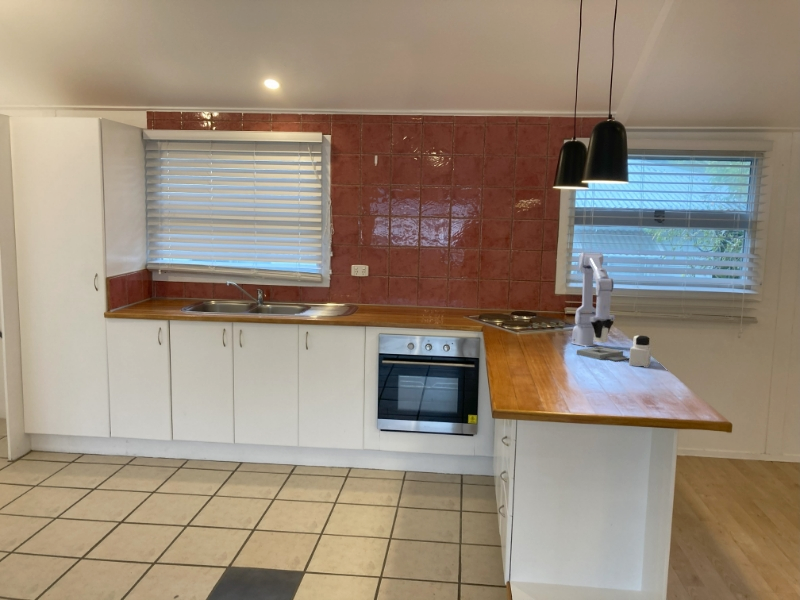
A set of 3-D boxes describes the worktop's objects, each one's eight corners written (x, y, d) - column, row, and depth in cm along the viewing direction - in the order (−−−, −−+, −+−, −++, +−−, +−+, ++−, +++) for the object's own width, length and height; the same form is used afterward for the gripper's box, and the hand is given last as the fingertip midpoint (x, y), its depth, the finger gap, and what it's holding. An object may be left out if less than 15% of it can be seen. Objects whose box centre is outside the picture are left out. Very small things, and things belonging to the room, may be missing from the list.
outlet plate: (576, 354, 265) (576, 349, 265) (599, 350, 274) (600, 346, 274) (599, 359, 255) (599, 354, 255) (622, 355, 264) (623, 351, 264)
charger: (593, 341, 263) (594, 325, 262) (599, 340, 265) (600, 324, 265) (601, 342, 260) (602, 326, 259) (607, 341, 262) (608, 326, 261)
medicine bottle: (650, 364, 248) (652, 335, 246) (647, 367, 241) (649, 338, 240) (632, 362, 251) (633, 333, 250) (628, 365, 245) (630, 336, 244)
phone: (605, 360, 256) (606, 357, 256) (620, 358, 260) (620, 355, 260) (615, 363, 252) (615, 360, 251) (629, 361, 256) (630, 358, 256)
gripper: (600, 308, 253) (598, 340, 255) (621, 306, 262) (619, 337, 263) (586, 306, 259) (584, 337, 261) (607, 304, 267) (605, 334, 269)
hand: (601, 337), depth 262 cm, fingers closed on charger, 4 cm apart
